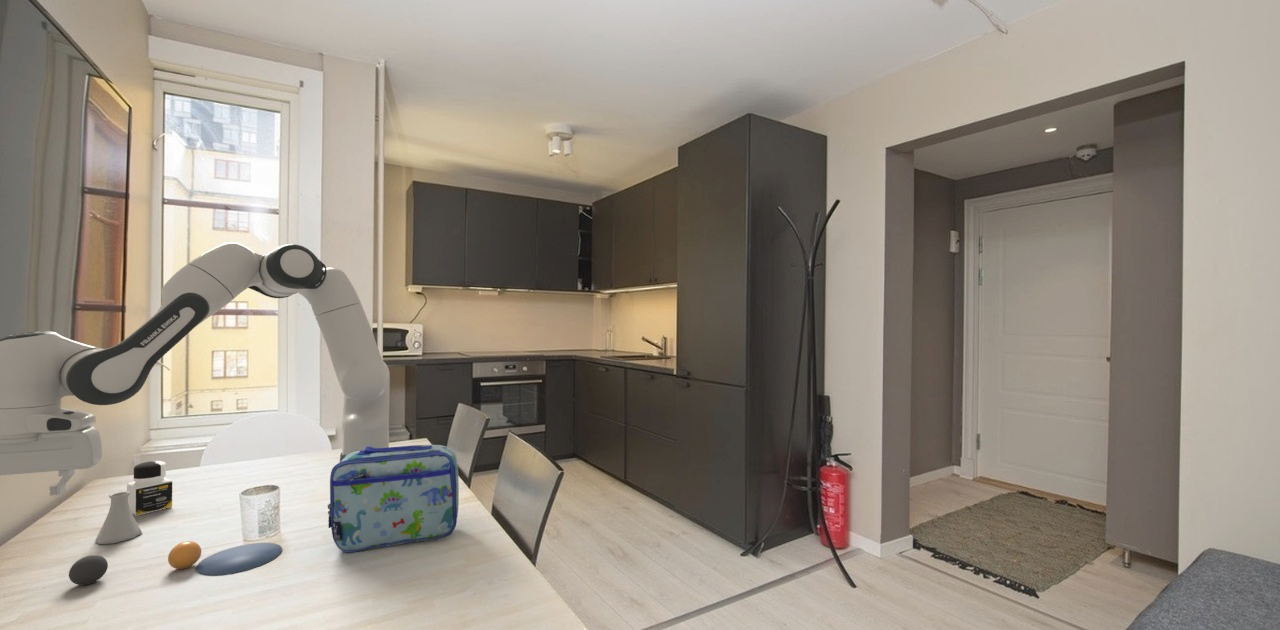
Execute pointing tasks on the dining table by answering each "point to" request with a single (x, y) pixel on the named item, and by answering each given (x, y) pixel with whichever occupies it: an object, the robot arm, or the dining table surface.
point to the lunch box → (393, 496)
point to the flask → (118, 521)
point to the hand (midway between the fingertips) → (21, 497)
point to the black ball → (88, 570)
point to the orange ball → (184, 555)
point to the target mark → (239, 559)
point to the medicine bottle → (149, 488)
